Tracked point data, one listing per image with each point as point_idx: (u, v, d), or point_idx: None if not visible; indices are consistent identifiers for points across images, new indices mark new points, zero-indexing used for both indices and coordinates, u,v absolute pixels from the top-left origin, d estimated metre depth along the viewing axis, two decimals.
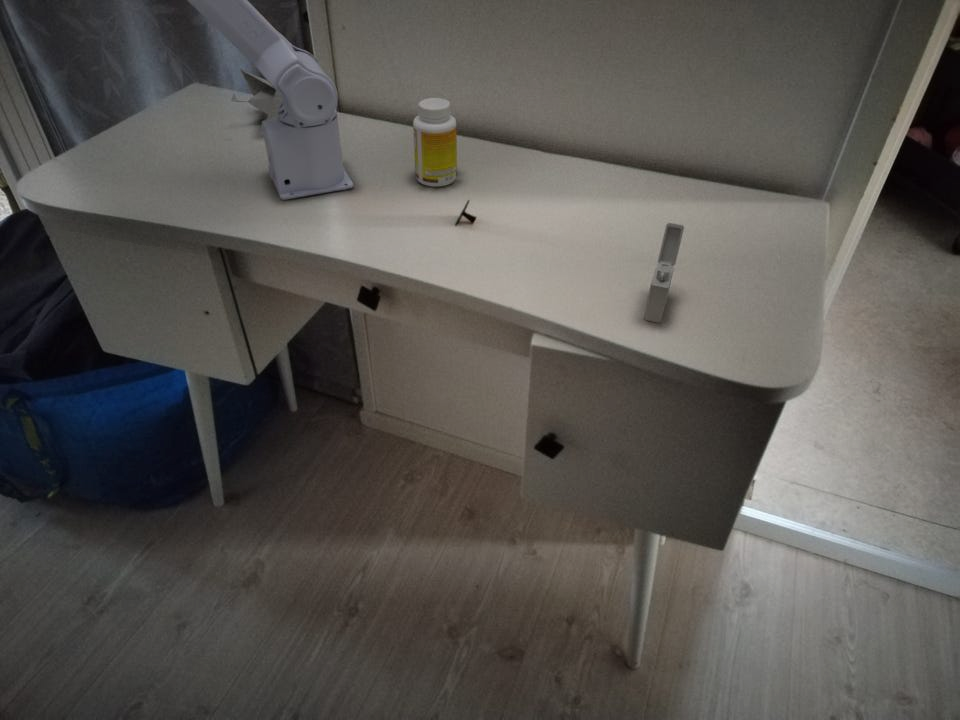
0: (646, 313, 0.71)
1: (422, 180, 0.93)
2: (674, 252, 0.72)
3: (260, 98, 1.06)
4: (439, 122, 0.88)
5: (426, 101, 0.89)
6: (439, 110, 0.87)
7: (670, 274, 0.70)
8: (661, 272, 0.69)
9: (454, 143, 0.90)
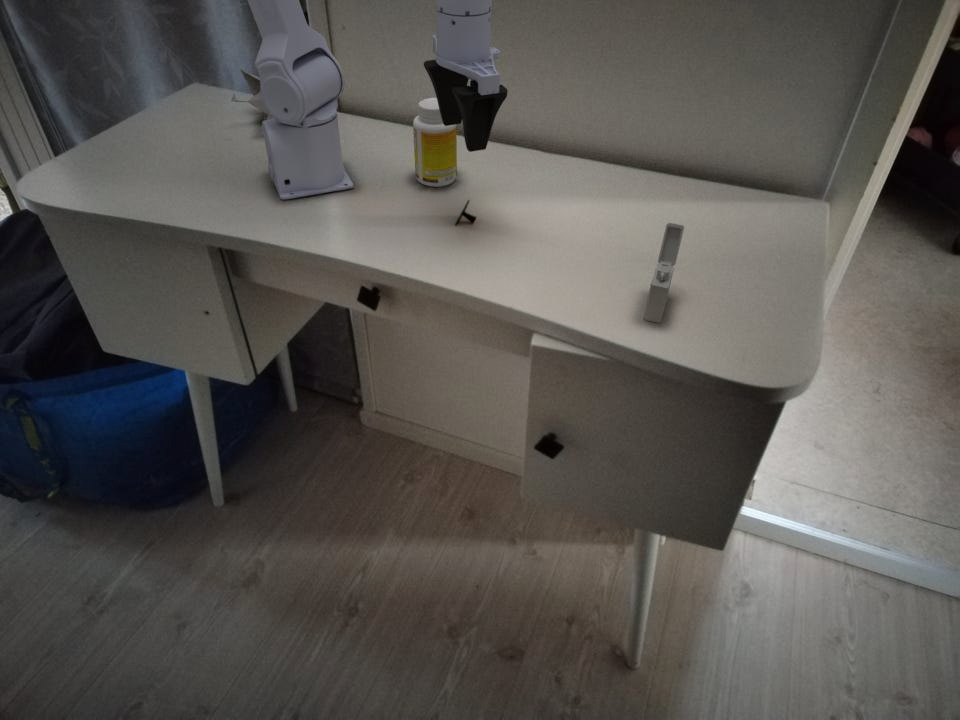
0: (646, 313, 0.71)
1: (422, 180, 0.93)
2: (674, 252, 0.72)
3: (260, 98, 1.06)
4: (439, 122, 0.88)
5: (426, 101, 0.89)
6: (439, 110, 0.87)
7: (670, 274, 0.70)
8: (661, 272, 0.69)
9: (454, 143, 0.90)
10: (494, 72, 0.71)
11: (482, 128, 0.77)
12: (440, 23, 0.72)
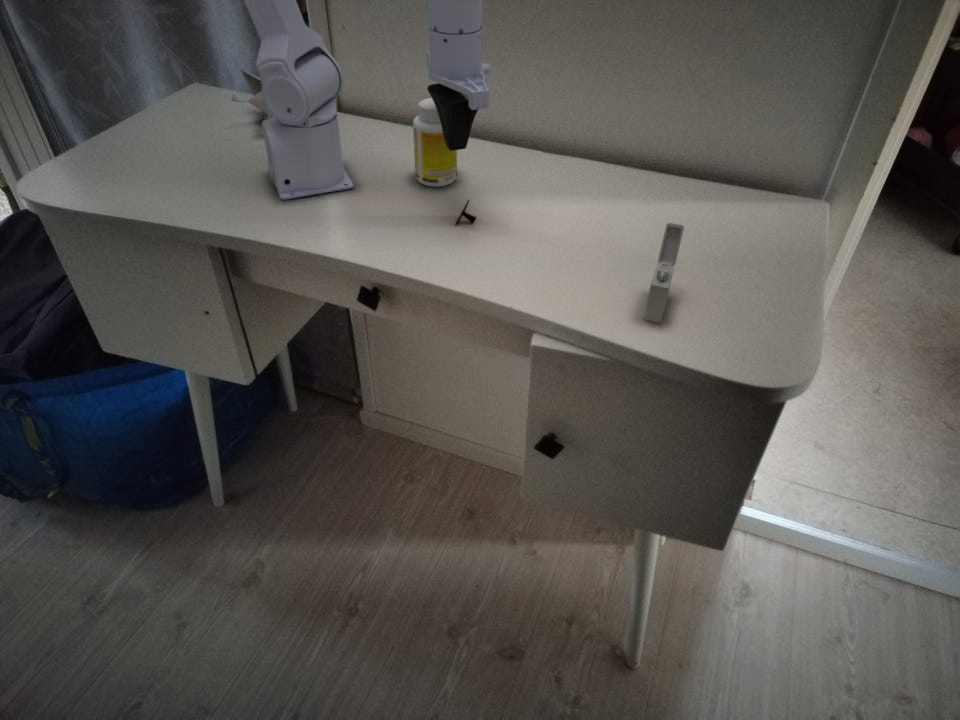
0: (646, 313, 0.71)
1: (422, 180, 0.93)
2: (674, 252, 0.72)
3: (260, 98, 1.06)
4: (439, 122, 0.88)
5: (426, 101, 0.89)
6: None
7: (670, 274, 0.70)
8: (661, 272, 0.69)
9: None
10: (484, 88, 0.75)
11: (462, 129, 0.82)
12: (432, 40, 0.75)
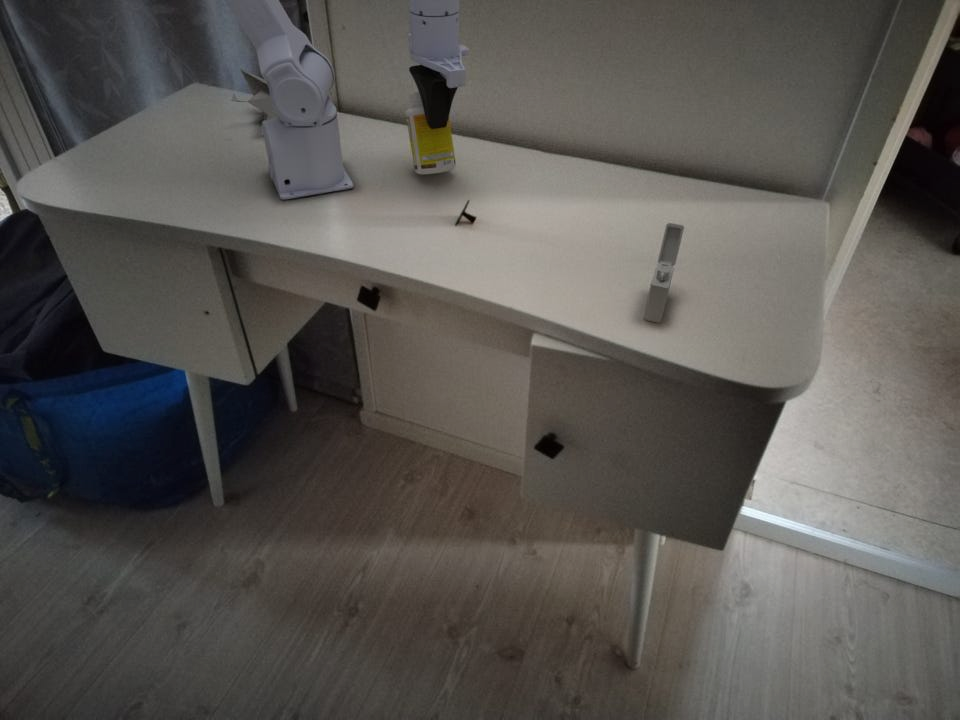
0: (646, 313, 0.71)
1: (420, 169, 0.92)
2: (674, 252, 0.72)
3: (260, 98, 1.06)
4: None
5: None
6: None
7: (670, 274, 0.70)
8: (661, 272, 0.69)
9: (448, 126, 0.91)
10: (461, 67, 0.79)
11: (442, 108, 0.87)
12: (412, 22, 0.80)
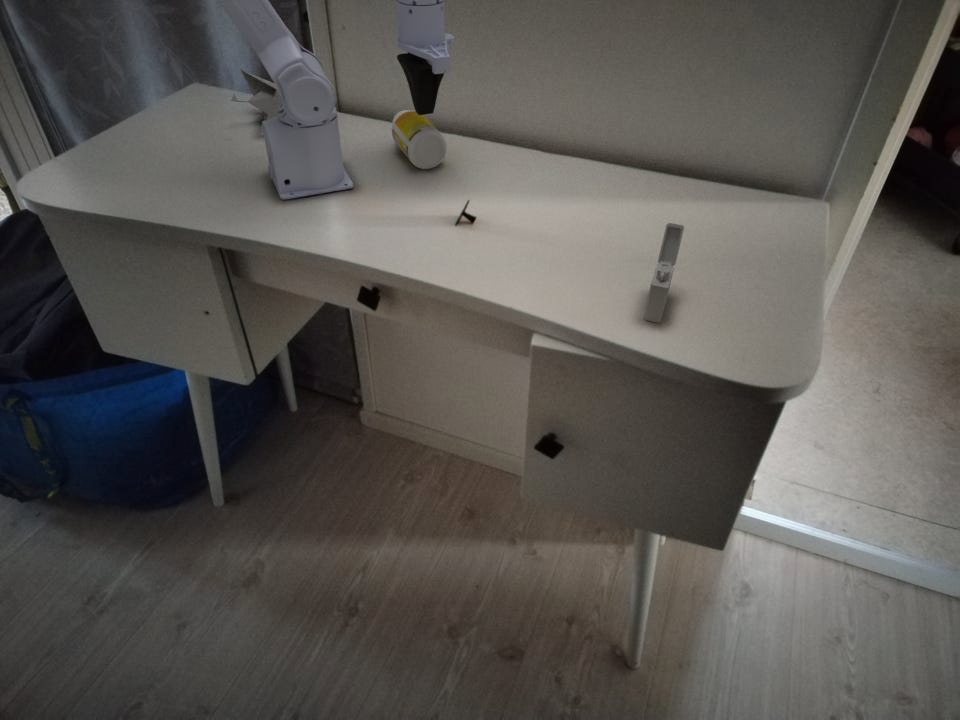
0: (646, 313, 0.71)
1: (409, 142, 0.94)
2: (674, 252, 0.72)
3: (260, 98, 1.06)
4: None
5: None
6: (404, 110, 1.01)
7: (670, 274, 0.70)
8: (661, 272, 0.69)
9: (427, 119, 0.98)
10: (446, 54, 0.83)
11: (429, 94, 0.91)
12: (399, 11, 0.83)
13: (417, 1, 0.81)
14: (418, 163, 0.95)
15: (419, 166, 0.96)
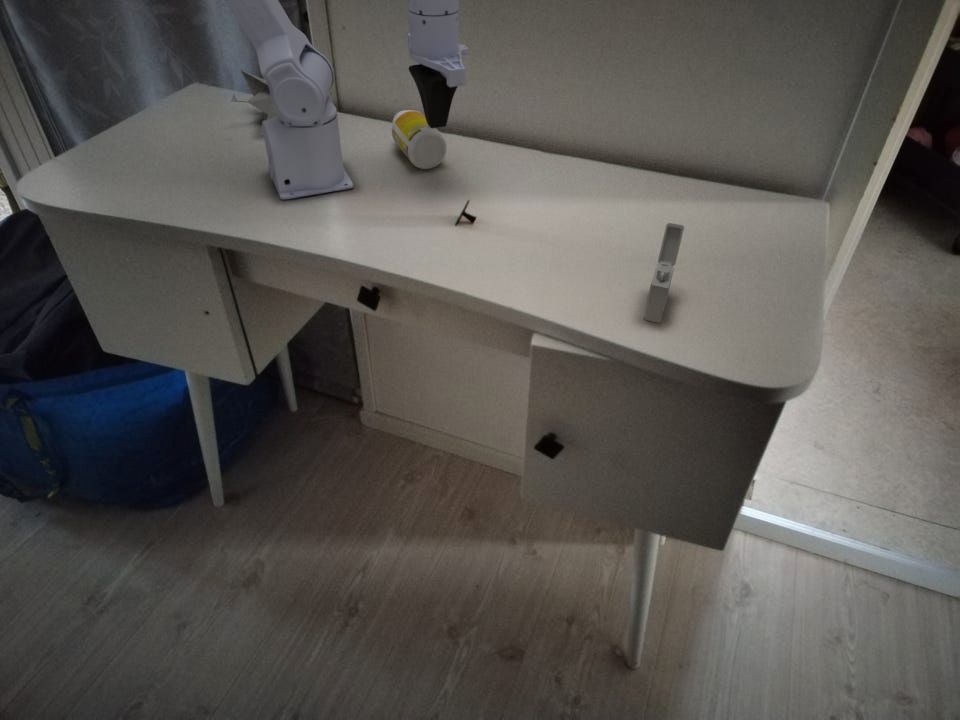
0: (646, 313, 0.71)
1: (409, 142, 0.94)
2: (674, 252, 0.72)
3: (260, 98, 1.06)
4: None
5: None
6: (404, 110, 1.01)
7: (670, 274, 0.70)
8: (661, 272, 0.69)
9: None
10: (461, 66, 0.80)
11: (442, 107, 0.87)
12: (412, 22, 0.80)
13: (423, 11, 0.78)
14: (418, 163, 0.95)
15: (419, 166, 0.96)
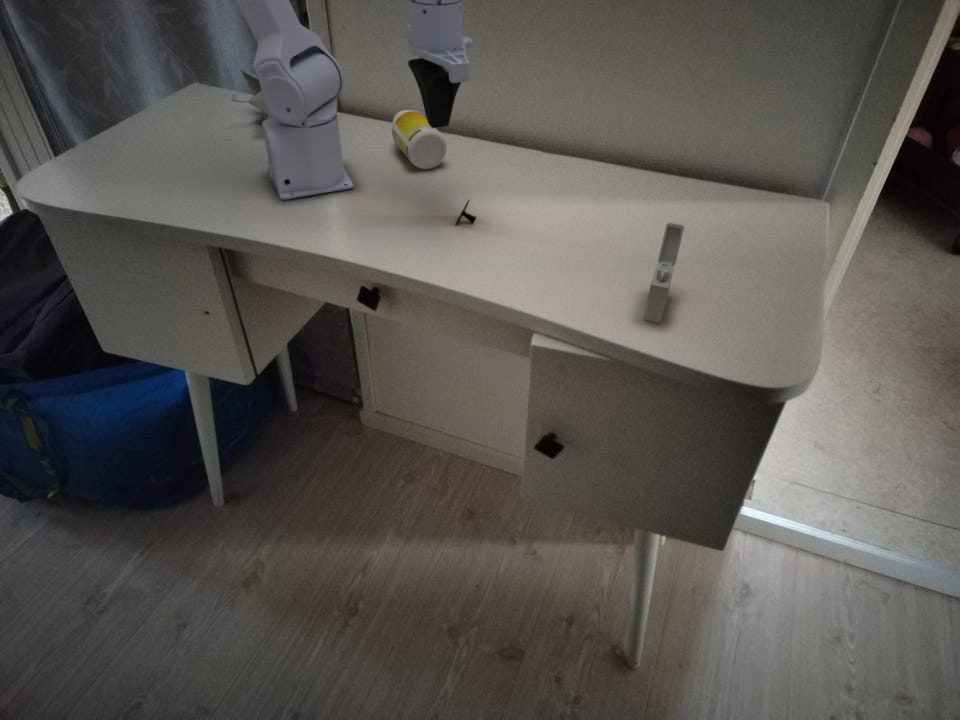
0: (646, 313, 0.71)
1: (409, 142, 0.94)
2: (674, 252, 0.72)
3: (260, 98, 1.06)
4: None
5: None
6: (404, 110, 1.01)
7: (670, 274, 0.70)
8: (661, 272, 0.69)
9: None
10: (465, 60, 0.73)
11: (444, 105, 0.81)
12: (411, 12, 0.73)
13: None
14: (418, 163, 0.95)
15: (419, 166, 0.96)
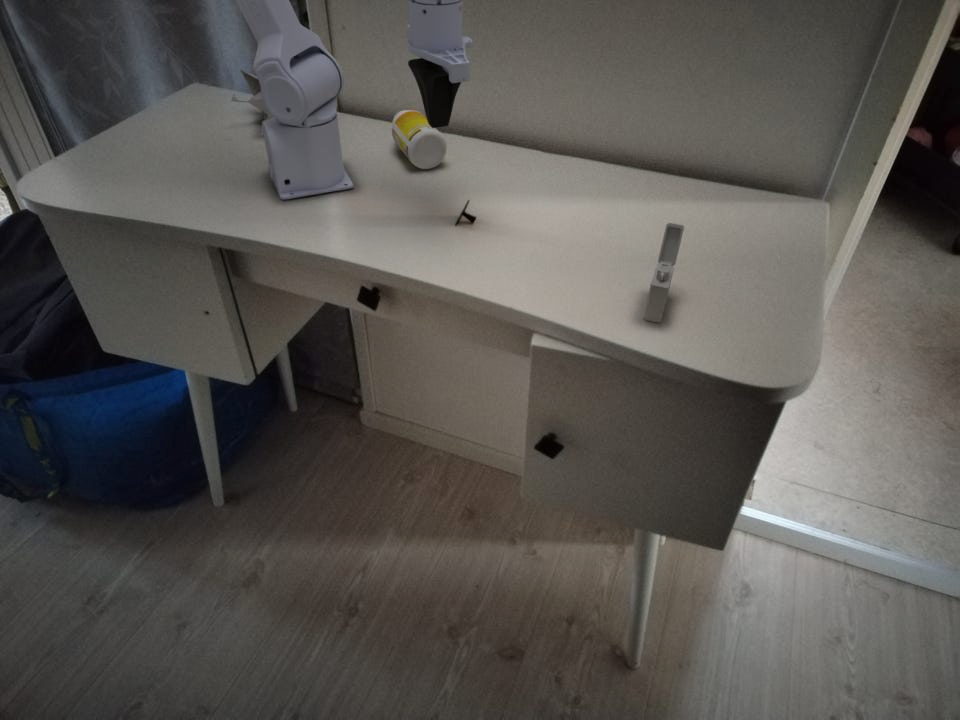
0: (646, 313, 0.71)
1: (409, 142, 0.94)
2: (674, 252, 0.72)
3: (260, 98, 1.06)
4: None
5: None
6: (404, 110, 1.01)
7: (670, 274, 0.70)
8: (661, 272, 0.69)
9: None
10: (465, 60, 0.73)
11: (444, 105, 0.81)
12: (411, 12, 0.73)
13: None
14: (418, 163, 0.95)
15: (419, 166, 0.96)
